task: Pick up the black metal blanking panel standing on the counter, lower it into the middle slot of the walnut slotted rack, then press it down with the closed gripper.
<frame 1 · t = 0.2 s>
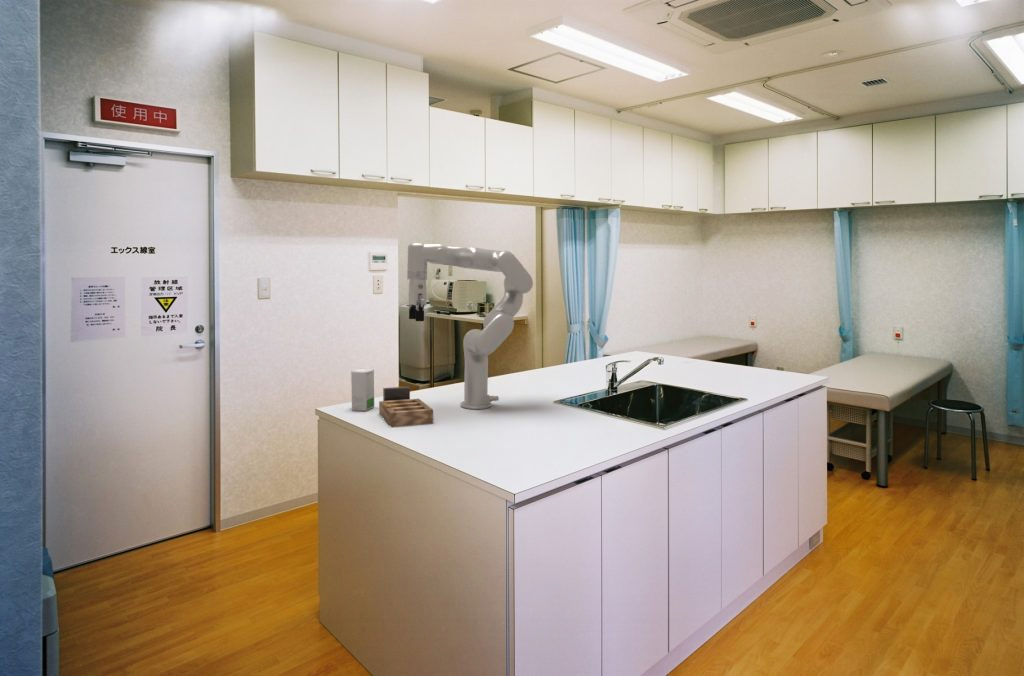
hand: (416, 320, 237), 36 cm above the table, tool pointing down, fingers open, 9 cm apart
blanking panel: (396, 410, 242), on the table
skincare box: (362, 409, 243), on the table
rack: (405, 418, 228), on the table
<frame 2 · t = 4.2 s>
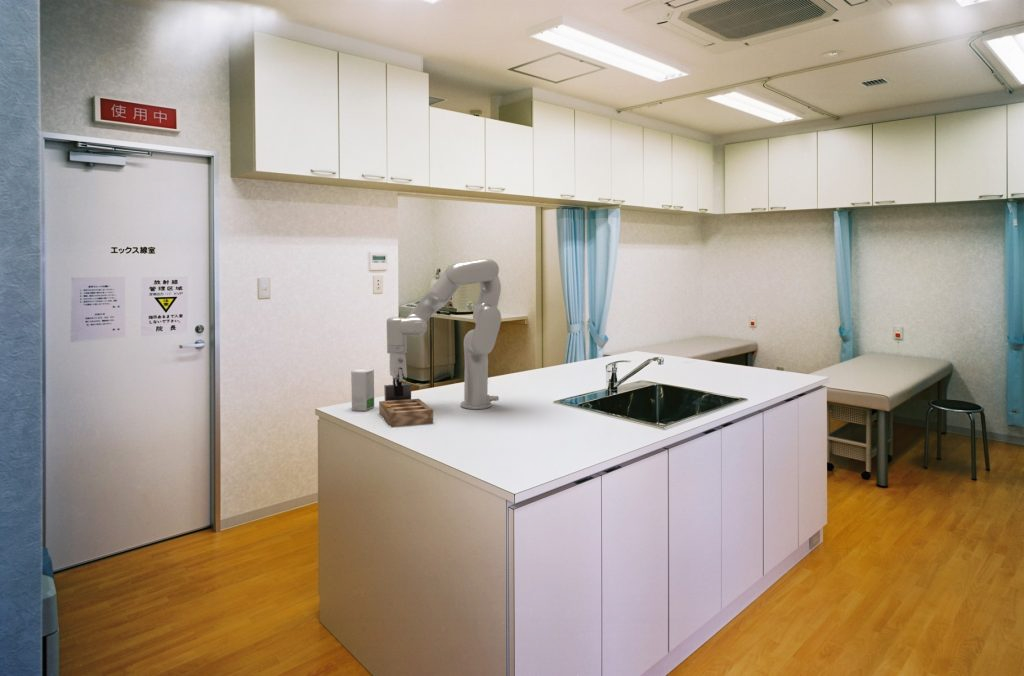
hand: (397, 394, 241), 6 cm above the table, tool pointing down, fingers closed on blanking panel, 2 cm apart
blanking panel: (398, 407, 242), point 1 cm above the table, touching gripper
everything else where it was.
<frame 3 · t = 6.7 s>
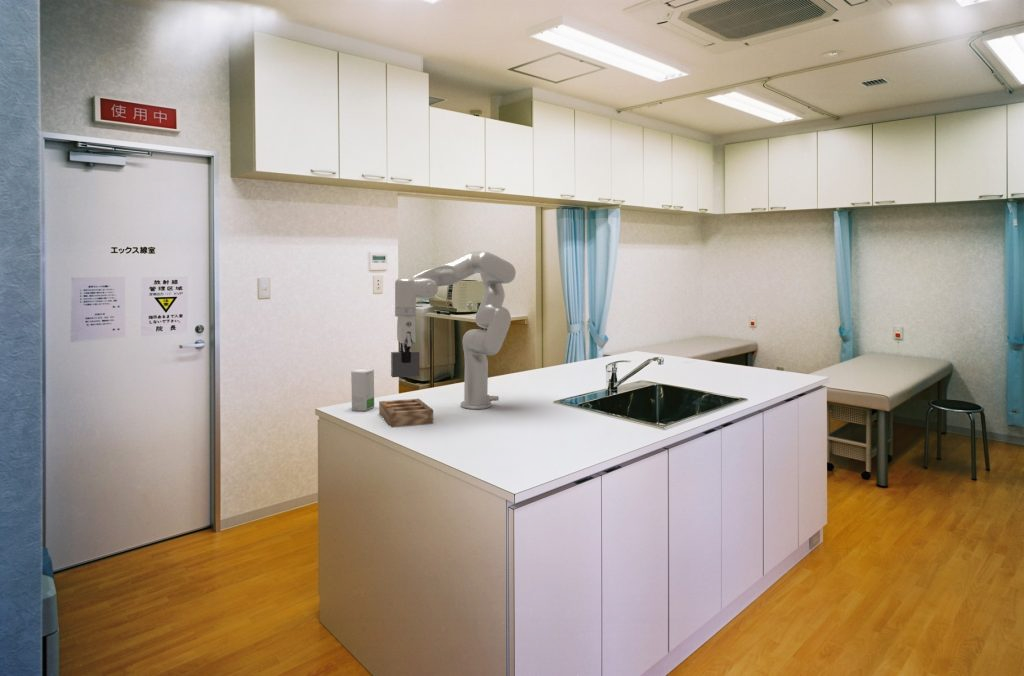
hand: (405, 361, 226), 22 cm above the table, tool pointing down, fingers closed on blanking panel, 2 cm apart
blanking panel: (405, 376, 226), point 16 cm above the table, touching gripper
everything else where it was.
when the fingers open (9 cm above the table, at t = 9.5 s): blanking panel drops 2 cm, resting on rack.
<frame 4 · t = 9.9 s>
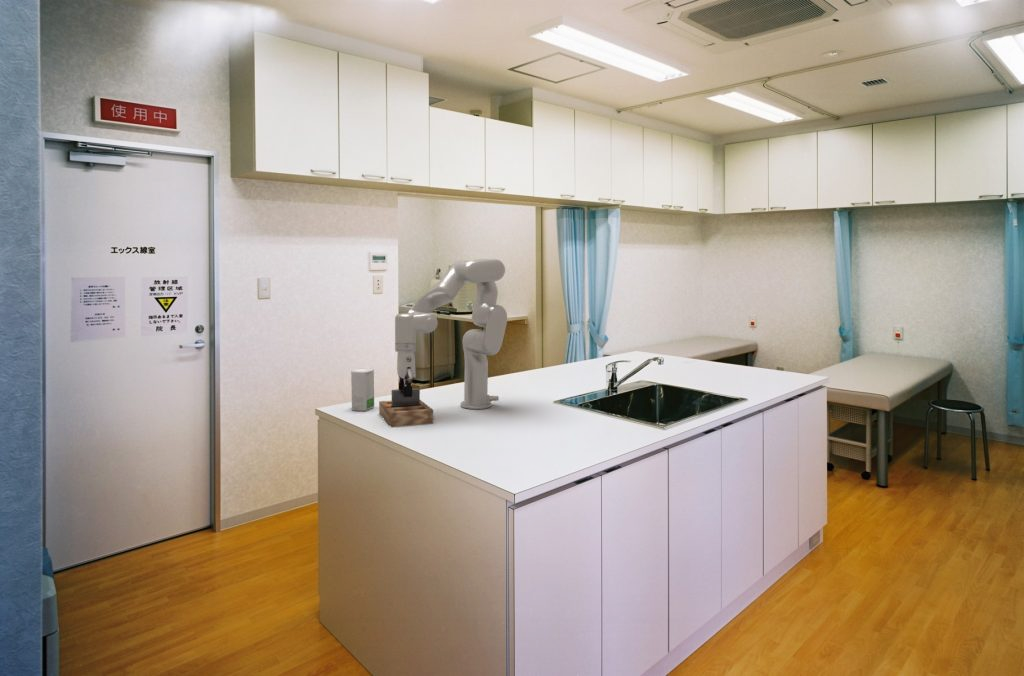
hand: (405, 394, 227), 9 cm above the table, tool pointing down, fingers open, 6 cm apart
blanking panel: (405, 413, 228), point 2 cm above the table, touching rack
everything else where it was.
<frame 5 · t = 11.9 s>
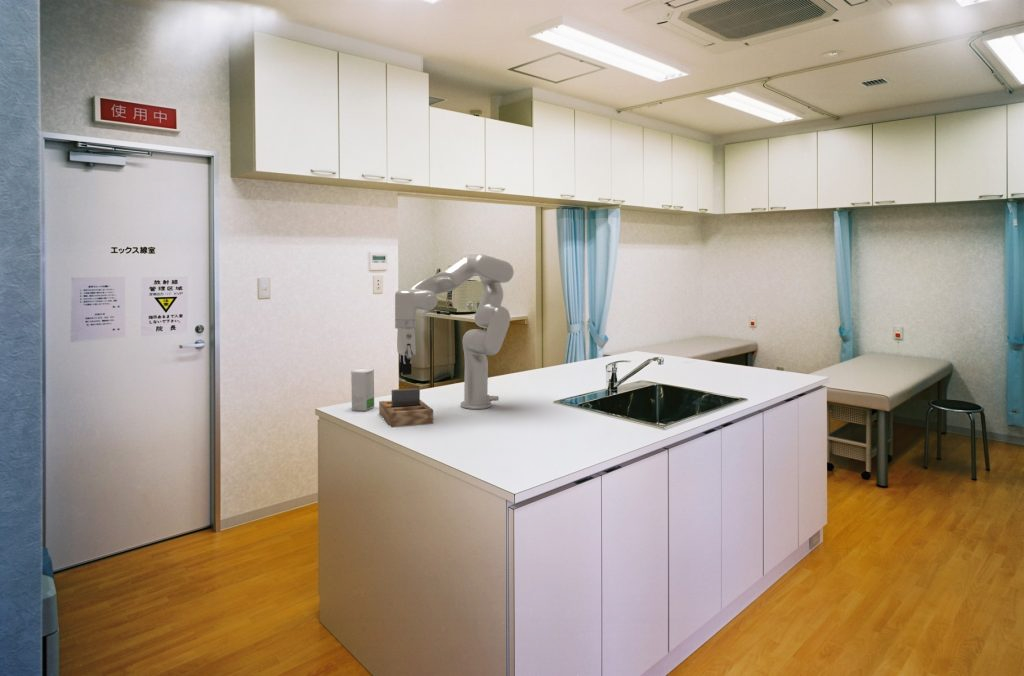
hand: (405, 372, 226), 17 cm above the table, tool pointing down, fingers open, 3 cm apart
nothing on the table moved.
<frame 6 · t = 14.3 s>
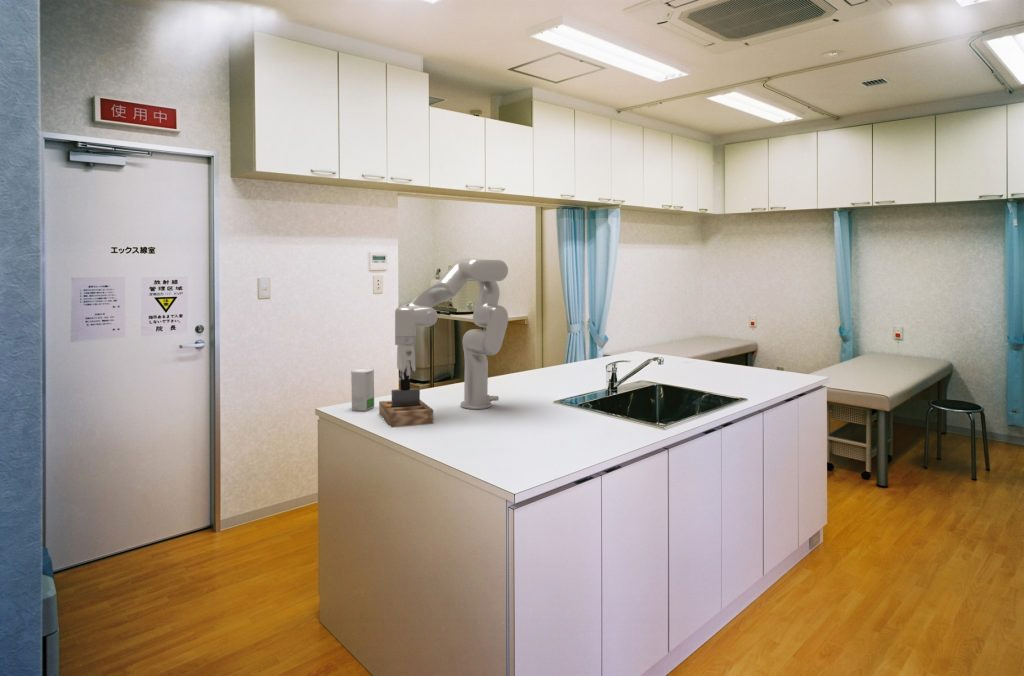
hand: (405, 389, 227), 11 cm above the table, tool pointing down, fingers closed
blanking panel: (405, 413, 228), point 2 cm above the table, touching gripper, rack
everything else where it was.
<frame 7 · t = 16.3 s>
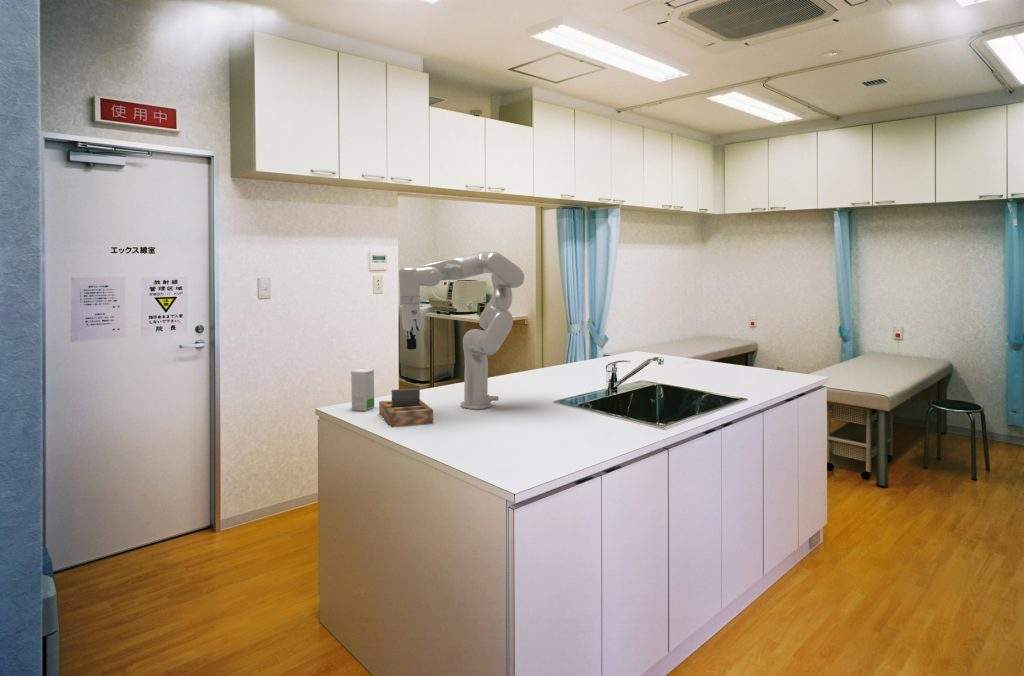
hand: (411, 348, 232), 25 cm above the table, tool pointing down, fingers closed
blanking panel: (405, 413, 228), point 2 cm above the table, touching rack
everything else where it was.
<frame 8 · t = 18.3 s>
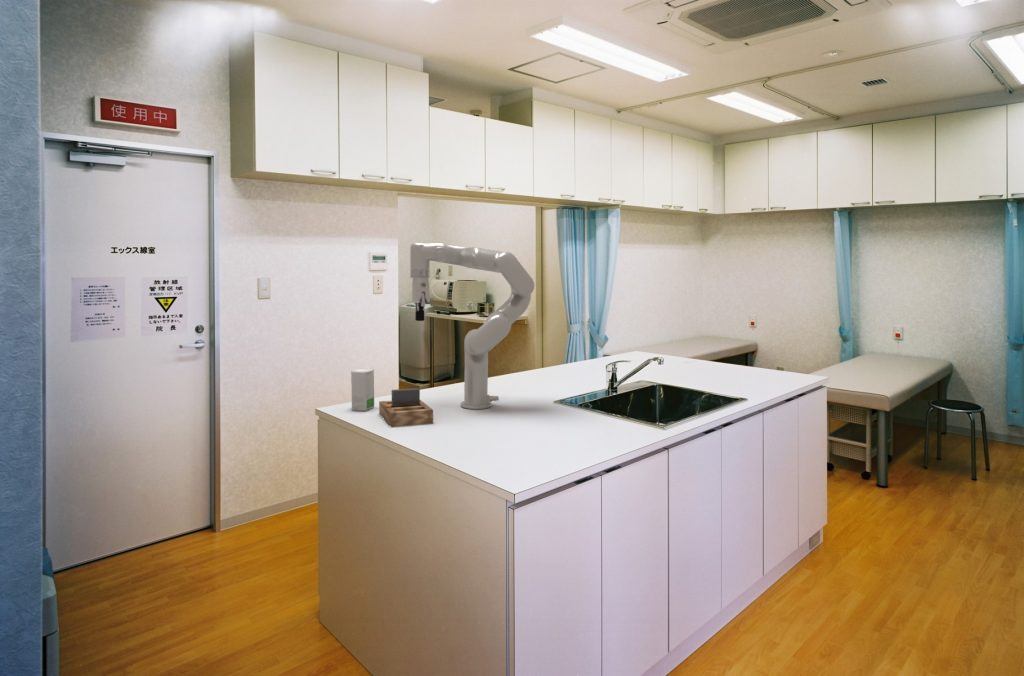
hand: (419, 320, 244), 35 cm above the table, tool pointing down, fingers closed
nothing on the table moved.
at the end: blanking panel 0.1 cm off-centre on the rack, point 2.0 cm above the rack's base; blanking panel tilted 0°; the gripper is holding nothing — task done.
